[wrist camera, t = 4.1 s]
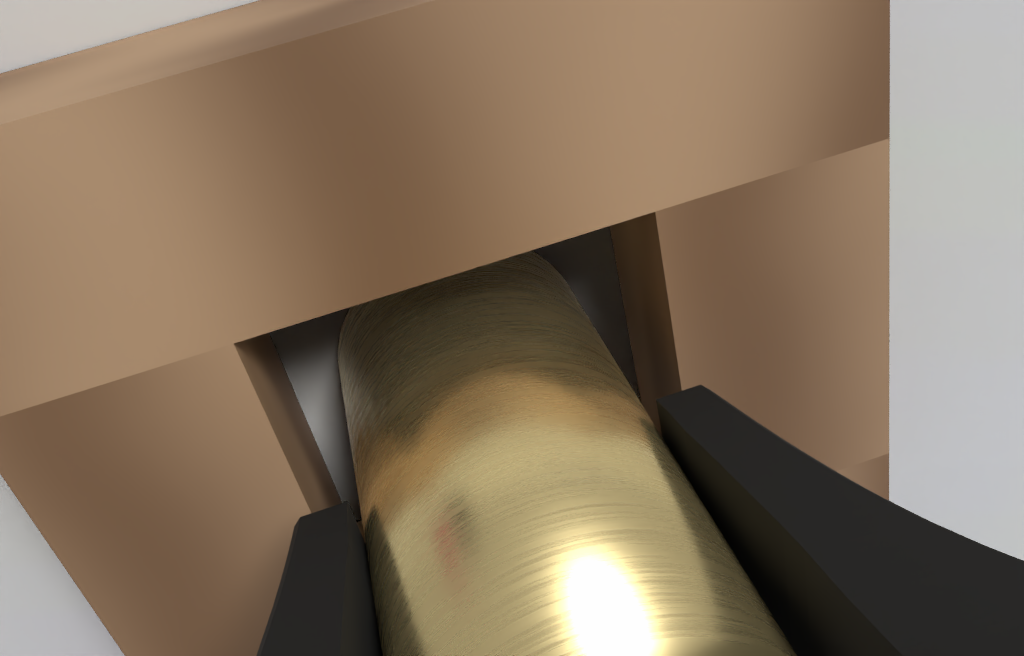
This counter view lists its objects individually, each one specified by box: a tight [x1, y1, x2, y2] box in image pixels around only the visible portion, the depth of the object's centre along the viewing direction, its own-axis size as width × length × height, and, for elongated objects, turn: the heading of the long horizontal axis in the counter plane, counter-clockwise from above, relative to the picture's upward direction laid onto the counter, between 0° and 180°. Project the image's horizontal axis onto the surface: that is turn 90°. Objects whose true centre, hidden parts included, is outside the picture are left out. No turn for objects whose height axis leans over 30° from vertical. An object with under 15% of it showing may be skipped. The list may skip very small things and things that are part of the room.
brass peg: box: [338, 251, 797, 656], centre depth 12 cm, size 4×4×8 cm
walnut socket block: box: [0, 0, 890, 656], centre depth 14 cm, size 12×12×2 cm
